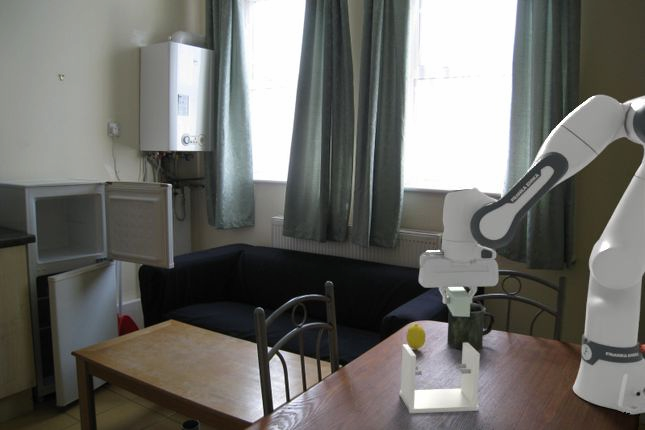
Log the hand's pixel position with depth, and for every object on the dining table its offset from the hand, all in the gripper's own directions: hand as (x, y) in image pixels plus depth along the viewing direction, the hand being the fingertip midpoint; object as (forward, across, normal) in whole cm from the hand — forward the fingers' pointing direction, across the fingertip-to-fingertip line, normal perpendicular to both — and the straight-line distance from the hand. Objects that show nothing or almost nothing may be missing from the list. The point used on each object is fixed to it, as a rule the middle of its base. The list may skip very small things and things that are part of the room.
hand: (457, 303), depth 132 cm
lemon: (+20, -5, +18) cm, 27 cm away
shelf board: (+2, 0, 0) cm, 2 cm away
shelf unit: (+20, -9, -14) cm, 26 cm away
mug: (+20, +13, +21) cm, 32 cm away
